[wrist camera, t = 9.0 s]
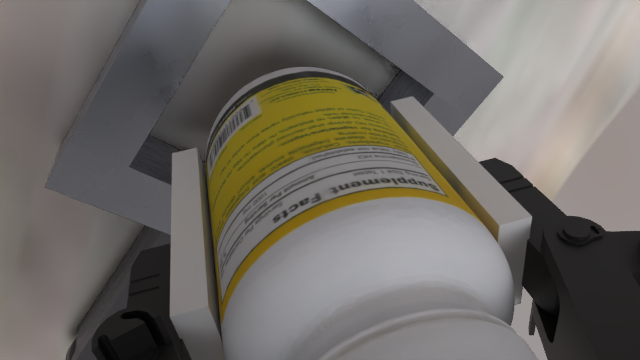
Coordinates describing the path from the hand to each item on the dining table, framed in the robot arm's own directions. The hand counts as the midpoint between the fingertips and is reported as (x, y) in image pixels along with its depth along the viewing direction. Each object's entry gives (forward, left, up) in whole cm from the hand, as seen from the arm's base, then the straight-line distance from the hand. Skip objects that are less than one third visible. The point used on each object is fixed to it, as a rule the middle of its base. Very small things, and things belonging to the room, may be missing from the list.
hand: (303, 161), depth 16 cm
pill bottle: (0, 0, -1) cm, 1 cm away
